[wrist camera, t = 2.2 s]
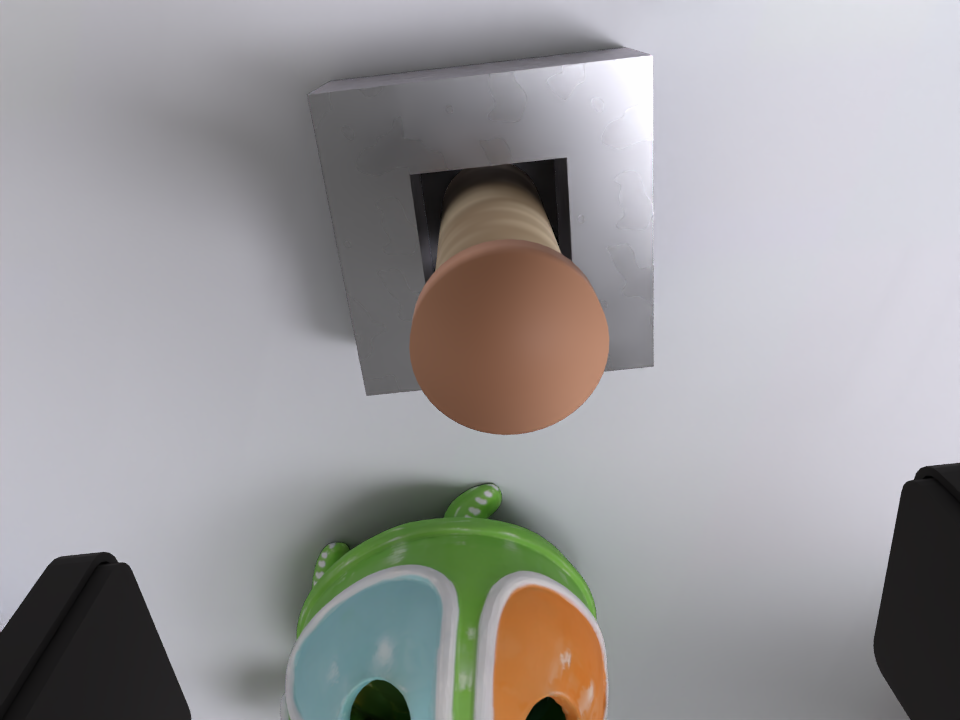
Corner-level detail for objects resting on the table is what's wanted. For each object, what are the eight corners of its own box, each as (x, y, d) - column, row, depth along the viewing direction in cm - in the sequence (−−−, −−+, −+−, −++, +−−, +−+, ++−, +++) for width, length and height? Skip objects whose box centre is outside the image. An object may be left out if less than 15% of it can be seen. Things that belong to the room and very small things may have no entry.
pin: (547, 142, 26) (606, 242, 15) (554, 260, 28) (612, 424, 17) (423, 155, 26) (394, 265, 15) (439, 273, 28) (424, 443, 17)
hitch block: (625, 47, 25) (652, 55, 21) (630, 321, 29) (653, 366, 25) (329, 81, 25) (307, 94, 21) (378, 347, 29) (366, 395, 26)
